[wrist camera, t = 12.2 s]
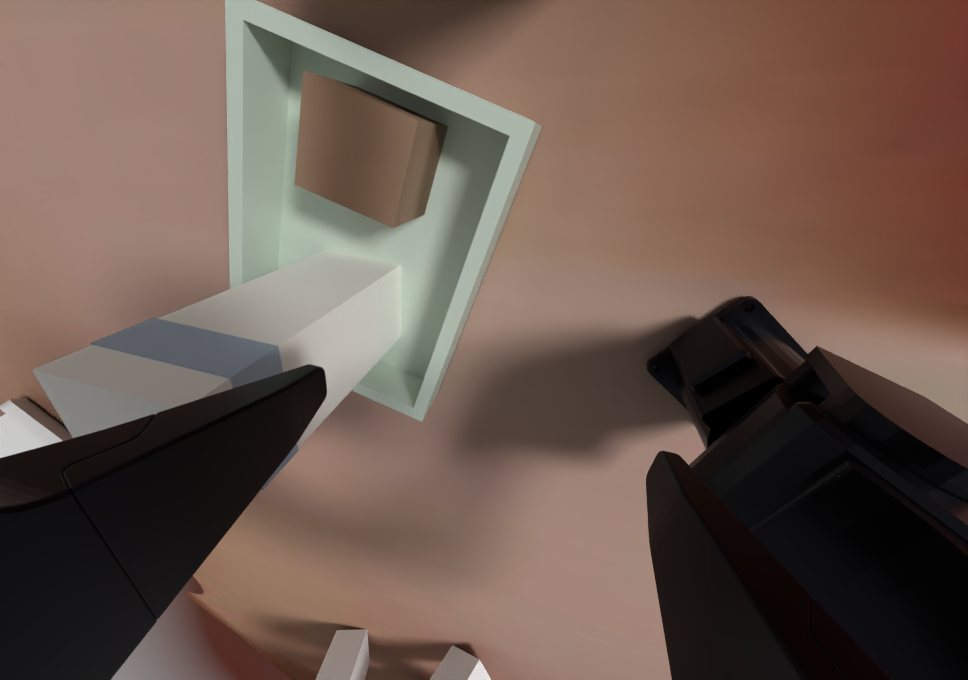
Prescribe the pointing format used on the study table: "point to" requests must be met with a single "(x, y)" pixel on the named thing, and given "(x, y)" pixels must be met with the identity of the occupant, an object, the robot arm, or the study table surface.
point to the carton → (236, 344)
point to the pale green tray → (332, 227)
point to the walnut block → (365, 151)
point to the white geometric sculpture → (349, 660)
